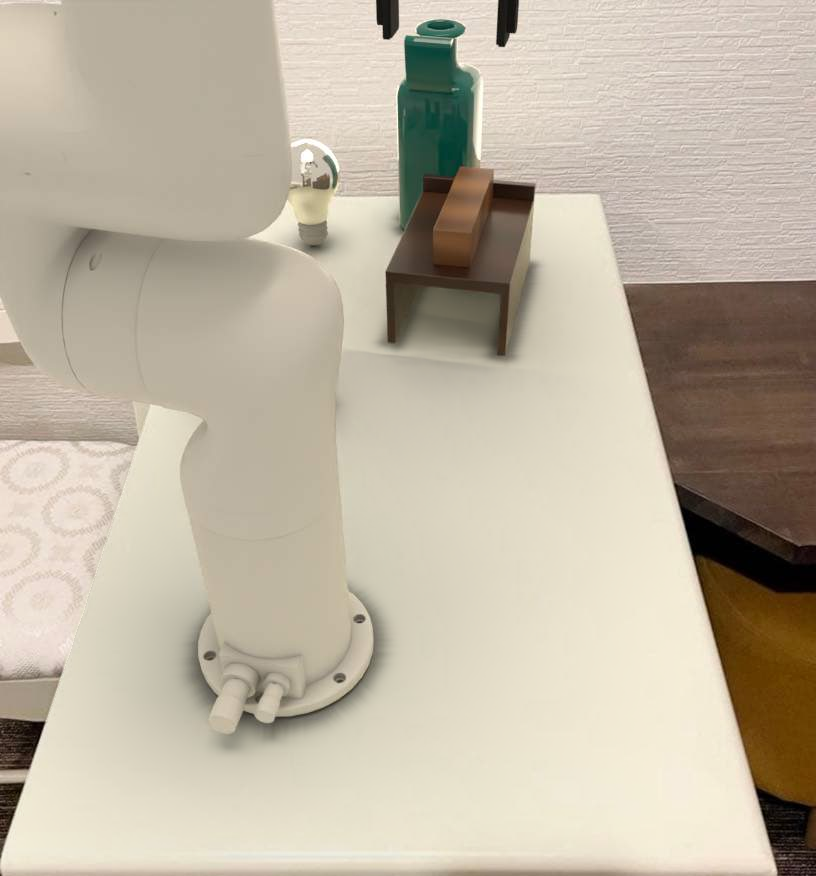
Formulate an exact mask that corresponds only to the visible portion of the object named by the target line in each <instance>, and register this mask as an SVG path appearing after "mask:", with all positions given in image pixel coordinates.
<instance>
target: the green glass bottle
mask: <svg viewBox="0 0 816 876" xmlns="http://www.w3.org/2000/svg"><path fill="white" fill-rule="evenodd" d="M414 30H415V33H416V35H415V34H406V35H405V37H404V42H403V48H404V68H405V70H404V71H405V75H404V76H403V77H402V79H401V80H400V81H399V83H398V85H397V88H396V131H397V134H396V135H397V172H398V173H397V174H398V177H397V178H398V215H399V216H398V218H399V219H398V220H399V225H400V227H401V228H402V229H403V230H405V228H406V226H407V224H408V222H409V220H410V218H411V215H412V213H413V211H414V209H415V207H416V205H417V203H418V200H419V198H420V196H421V194H422V192H423V175H424V174H431V175H443V176H454V177H456V175H457V172H458V170H459V167H460V166H461V167H473V168H481V158H482V157H481V156H482V130H483V126H482V125H483V102H484V99H483V98H484V79H483V75H482V73H481V71H480V69H479V68H477V67H475V66H474V65H472V64H469V63H464V62H459V59H458V58H459V57H458V50H459V49H458V47H459V43H458V42H459V38H461V37H462V36H464V35H465V34H466V32H467V26H466V25H465V24H464V23H462V22H460V21H459V20H456V19H451V18H432V19H427V20H424V21H422V22H419V23H418V24H417V25H416V26H415V28H414Z"/></svg>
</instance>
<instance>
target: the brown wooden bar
mask: <svg viewBox="0 0 816 876" xmlns="http://www.w3.org/2000/svg"><path fill="white" fill-rule="evenodd" d="M494 175H495V169H494V168H484V167H480V168H473V167H461V166H460V167H459V170H458V172H457V175H456V177H455V179H454V182H453V184H452V186H451V189H450V191H449V194H448V196H447V198H446V201H445V203H444V206H443V208H442V210H441V213H440V215H439V218H438V220H437V222H436V225H435V227H434V229H433V264H436V265H446V266H456V267H466V268H470V265H471V262H472V260H473V257H474V254H475V251H476V248H477V245H478V242H479V239H480V236H481V234H482V231H483V228H484V225H485V222H486V219H487V216H488V213H489V210H490V207H491V205H492V201H493V180H495V179H494V178H495V176H494Z"/></svg>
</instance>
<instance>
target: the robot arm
mask: <svg viewBox="0 0 816 876" xmlns="http://www.w3.org/2000/svg"><path fill="white" fill-rule="evenodd" d="M60 3H61V4H55V3H54V4H53V3H41V2H13V3H12V2H11V3H5V4H0V301H1V303H2V305H3V308H4V310H5V313H6V315H7V317H8V319H9V322H10V324H11V326H12V329H13V331H14V333H15V335H16V337H17V339H18V341H19V344H20V346H21V347H22V348H23V350H24V352H25V355H26V356H27V357H28V358H29V360H30V361H31V362H32V364H33V365H34V366H35V368H36V369H37V370H38V371H39V372H40V373H41V374H43V376H45V377H46V378H47V379H48V380H50V381H52V382H53V383H55V384H57V385H58V386H62V387H64V388H67V389H69V390H72V391H76V392H80V393H84V394H89V395H94V396H99V397H106V398H111V399H117V400H123V401H129V402H135V403H141V404H147V405H153V406H157V407H161V408H164V409H168V410H173V411H177V412H179V411H180V412H183V413H187V414H191V415H194V416H196V417H198V418H199V419H201V420H202V421H201V422H200V423H199V425H198V426H197V427H196V429H195V430H194V432H192V434H191V436H190V437H189V439H188V441H187V443H186V445H185V447H184V449H183V452H182V455H181V460H180V465H179V479H180V485H181V491H182V496H183V500H184V504H185V507H186V511H187V516H188V519H189V524H190V528H191V532H192V536H193V541H194V545H195V549H196V554H197V558H198V562H199V566H200V571H201V575H202V580H203V582H204V588H205V592H206V596H207V601H208V605H209V609H210V613H209V615H208V616H207V617H206V619H205V621H204V623H203V625H202V628H200V633H199V637H198V642H197V658H198V661H199V665H200V669H201V672H202V675H203V677H204V680H205V682H206V683H207V684H208V686H209V687H210V688H211V691H212V692H213V693H214V694H215V695H217V697H216V700H215V702H214V704H213V706H212V709H211V710H210V713H209V715H208V718H207V719H206V721H207V724H208V726H209V727H210V728H211V729H212V730H214V731H216V732H217V733H220V734H224V735H229V734H231V735H232V734H233V733H235V732H236V729H237V727H238V724H239V722H240V720H241V718H242V715H243V713H244V712H246V713H249V714H252V715H254V717H255V719H256V720H257V721H259V722H261V723H264V724H271V723H274V721H275V719H276V718H278V717H279V718H281V717H294V716H300V715H305V714H309V713H311V712H314V711H318V710H321V709H323V708H325V707H327V706H329V705H331V704H333V703H335V702H337V701H338V700H340V699H342V697H343V696H345V695H346V694H347V693H349V692H350V691H351V690H352V689H354V688H355V686H356V685H357V684H358V683H359V682H360V680H361V679H362V678H363V676H364V674H365V673H366V671H367V669H368V668H369V666H370V663H371V660H372V656H373V654H374V643H375V642H374V641H375V639H374V628H373V623H372V620H371V616H370V613H369V612H368V610H367V608H366V607H365V605H364V603H363V602H362V601H361V600H360V599H359V598H358V597H357V596H356V595H355V594H354V593H353V592H351V591H350V590H349V586H348V583H349V582H348V573H347V572H348V571H347V561H346V549H345V536H344V524H343V511H342V501H341V499H342V498H341V489H340V475H339V463H338V451H337V422H336V421H337V420H336V419H337V416H336V415H337V413H336V412H337V397H338V395H337V394H338V385H339V376H340V375H339V374H340V367H341V357H342V350H343V340H344V328H345V314H344V304H343V298H342V294H341V291H340V289H339V286H338V284H337V281H336V280H335V278H334V277H333V275H332V274H331V272H329V269H327V267H325V266H324V265H323V264H322V263H321V262H320V261H318V260H317V259H315V258H314V257H312V256H311V255H310V254H308V253H306V252H303V251H301V250H299V249H297V248H294V247H291V246H289V245H285V244H281V243H279V242H275V241H272V240H266V239H261V238H256V237H253V236H255V235H258V234H260V233H262V232H264V231H266V230H267V229H268V228H270V226H271V225H272V224H273V223H274V222H275V221H276V220H278V219H279V217H280V216H281V214H282V212H283V210H284V208H285V205H286V203H287V201H288V200H287V198H288V195H289V192H290V187H291V176H292V143H293V142H292V133H291V120H290V112H289V105H288V95H287V87H286V80H285V71H284V65H283V64H284V63H283V56H282V49H281V40H280V35H279V34H280V33H279V26H278V18H277V10H276V3H275V0H60ZM519 7H520V0H497V16H496V18H497V19H496V35H495V36H496V37H495V45H496V46H498V48H506V46H507V43H508V41H509V39H510V35H511V34H514V35H515V34H517V30H518V23H519ZM375 13H376V15H375V16H376V17H375V19H376V25H377V26H382V40H384V41H385V40H388V41H389V40H391V39H393V37H394V36H395V35H396V33H397V32H398V31H399V28H400V0H375Z"/></svg>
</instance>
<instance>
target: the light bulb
mask: <svg viewBox="0 0 816 876" xmlns="http://www.w3.org/2000/svg"><path fill="white" fill-rule="evenodd" d="M340 179H341V172H340V165H339V163H338V160H337V158H336V157H335V155H334V153H333V152H332V150H330V148H329V147H328V146H326V145H324V144H323V143H321V142H320V141H318V140H314V139H305V138H304V139H299V140H296V141H295V142H292V176H291V187H290V192H289V195H288V198H287V201H288V203H289V204H290V206H291V207H292V210H293V214H294V217H295V219H296V221H297V226H298V236H299V237H298V238H300V239H301V240H302V241H303V242H304V243H305V244H307V245H309V247H311V248H316V247H319V246H320V244H322V243H323V242H325V240H326V238H327V237H328V234H329V231H328V221H327V218H328V217H329V212H330V205H331V202H332V200H333V199H334V197H335V195H336V192H337V191H338V188H339V185H340Z"/></svg>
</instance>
